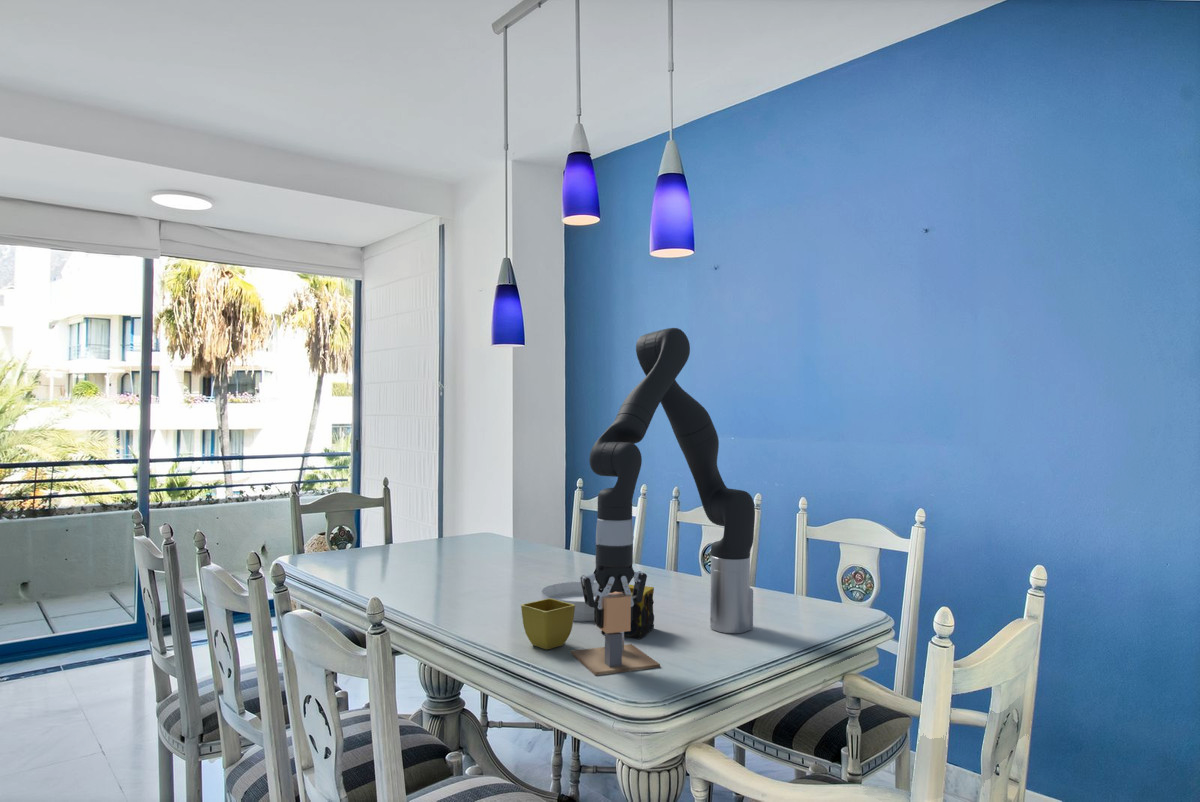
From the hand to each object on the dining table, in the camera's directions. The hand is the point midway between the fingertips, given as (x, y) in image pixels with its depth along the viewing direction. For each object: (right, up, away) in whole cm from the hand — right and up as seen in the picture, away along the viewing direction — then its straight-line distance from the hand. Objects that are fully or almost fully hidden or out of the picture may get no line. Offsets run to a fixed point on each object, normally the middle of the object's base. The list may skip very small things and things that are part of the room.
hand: (613, 625), depth 149 cm
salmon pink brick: (0, -1, 0) cm, 1 cm away
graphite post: (0, -8, 0) cm, 8 cm away
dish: (-7, -10, +44) cm, 46 cm away
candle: (+4, -9, +25) cm, 27 cm away
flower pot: (-14, -9, +14) cm, 21 cm away
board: (0, -9, +4) cm, 10 cm away
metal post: (+1, -8, +9) cm, 12 cm away
